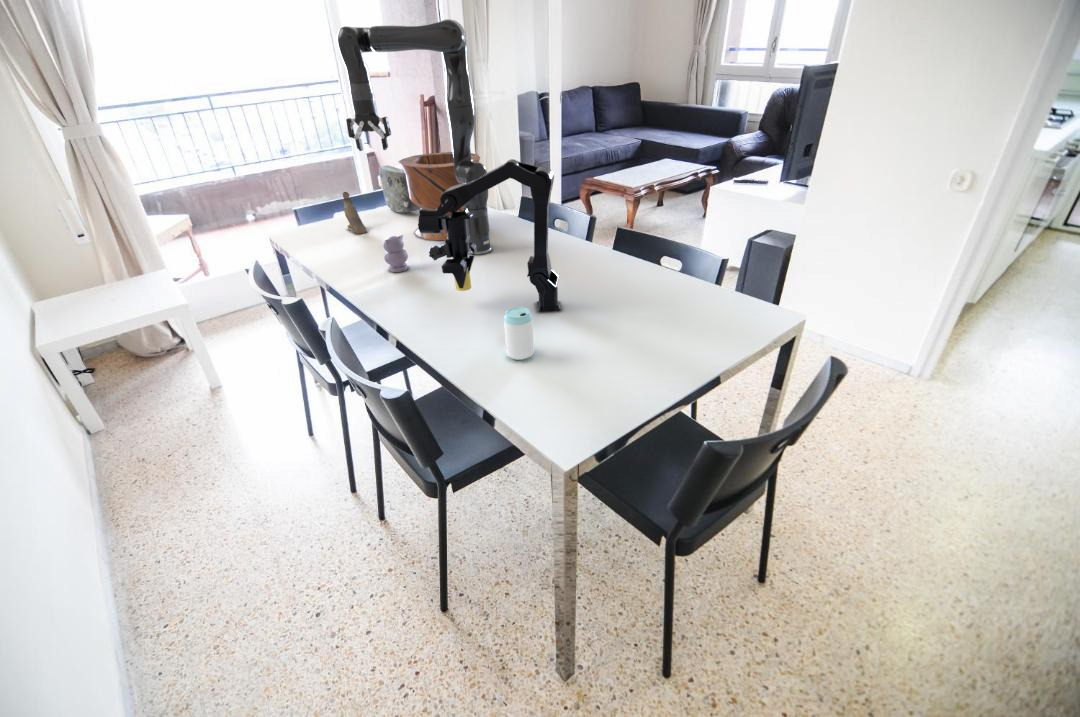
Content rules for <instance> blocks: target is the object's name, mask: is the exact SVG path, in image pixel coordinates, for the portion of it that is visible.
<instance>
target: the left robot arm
mask: <svg viewBox="0 0 1080 717" xmlns="http://www.w3.org/2000/svg"><path fill="white" fill-rule="evenodd" d="M466 35H467V34H466V31H465V29H464V28H463V26H462V24H461V23H460V22H458V21H457V20H455V19H448V18H447V19H442V20H440V21H437V22H434V23H430V24H423V25H413V26H412V25H411V26H410V25H374V26H370V27H359V26H358V27H357V26H356V27H355V26H354V27H353V26H345V25H344V26H342V27H340V28H339V29H338V31H337V34H336V43H337V47H338V51H339V53H340V57H341V59H342V62H343V64H344V67H345V71H346V75H347V76H346V77H347V80H348V81H347V82H348V86H349V94H350V95H349V96H350V99H351V100H350V101H351V104H352V109H353V110H352V111H353V114H354V118H353V117H352V118H351V117H348V118H346V119H345V121H346V128H347V135H348V137H349V138H351V139H354V140H355V144H356V149H357V150H358V151H359V152H363V151H364V147H363V141H362V138H361V136H362V134H363V133H364V132H365V133H367V132H375V133H376V134H378V136H379V137H380V138H381V139H380V140H381V145H382V150H383V151H387V149H388V148H389V143H388V137H390V136H392V130H391V125H390V122H389V118H388V116H383V117H380V116H379V114H378V109H377V103H376V98H375V93H374V88H373V85H372V80H371V76H370V70H369V67H368V64H367V63H366V62H365V61H364V56H363V54H364V53H373V52H376V53H397V52H406V51H421V50H422V51H433V52H439V53H442V58H443V63H444V69H445V105H446V112H447V119H448V123H449V131H450V138H451V139H450V140H451V145H452V152H453V161H454V174H455V178H456V180H457V182H458V183H459V184H462V183H467V182H470V181H473V180H475V179H476V178H478V177H480V176H482V175H484V174H486V173H488V171H487V168H486V166H485V165H484V164H483V163H481V162H480V161H479V162H474V161H472V157H471V153H472V151H471V141H472V136H473V133H474V130H475V125H476V112H475V104H474V98H473V92H472V87H471V82H470V76H469V69H468V60H467V59H468V58H467V57H468V56H467V36H466ZM380 123H381V125H383V128H384V130H383V129H382V127H381V126H380V125H379V124H380ZM355 124H356V125H357V129H356V131H355V130H354V125H355ZM488 200H489V189H488V190H486V191H484V192H482V193H480V194H478V195H476V196H475V197H473V198H472V199H471V200H470V201H468V202H467V203H466V204H465V205H464V206H462V207H463V211H464V210H465V209H467V210H468V211H469V212H471V213H472V214H473V216H472V217H471V218H470V219H466V225H467V234H468V235H469V236H470V238H469V240H468V243H474V244H475V245H476V247H477V252H476V254H475V255H476V256H477V255H485V254H488V253H490V252H491V251H492V246H491V245H492V244H491V233H490V223H489V211H488ZM470 255H474V254H473V252H472V251H471V253H470Z"/></svg>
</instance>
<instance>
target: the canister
mask: <svg viewBox="0 0 1080 717" xmlns="http://www.w3.org/2000/svg"><path fill="white" fill-rule="evenodd" d="M453 278H454V287H455V290H457V291H458V292H464V291H469V290H471V289H472V279H471V271H470V272H469V271H467V275H466V279H465V283H464V287H463V288H459V286H458V284H457V281H456V279H455V277H454V276H453Z"/></svg>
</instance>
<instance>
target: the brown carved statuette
mask: <svg viewBox="0 0 1080 717" xmlns="http://www.w3.org/2000/svg"><path fill="white" fill-rule="evenodd" d="M342 198H343V202H342V203H343V206H344V208H343V212H344V215H345V219H347V222H348V223H349V224H348V225H347V230H349V231H351V232H352V233H354V234H357V235H361V234H365V233H367V232H368V230H367V228H366V226H365V224H364V223H363V221H362V219H361V217H360V215H359V213H358V210H357V208H356V207H355V206H354V204H353V201H352V199H350V193H349V192H347V191H343V192H342Z"/></svg>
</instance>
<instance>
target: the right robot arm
mask: <svg viewBox="0 0 1080 717" xmlns="http://www.w3.org/2000/svg"><path fill="white" fill-rule="evenodd" d="M509 179H512V180H514V181H516V182H518V183H520V184H521V185H524V186H526V187H528V188H529V189H530V195H531V199H532V203H533V206H534V207H533V208H534V209H533V216H534V217H533V256H532V255H530V256H529V258H528V261H527V264H526V265H527V271H528V272H527V274H526V277H527V278H529V282H530V284H532V285H533V286H534V287H535V289H536V292H537V293H538V301H536V306H537V310H538V313H545V312H558V311H561V306H560V302H559V290H558V289H559V287H558V282H559V279H560V277H559V275H558V274H557V273H556V272H555V271H554V270H552V262H551V258H550V255H549V213H550V211H549V210H550V201H551V195H552V191H553V186H554V180H555V175H554V172H553V170H552V169H551V168H549V167H547V166H545V165H544V166H537V165H534V164H530V163H525V162H521V161H518V160H516V159H508V160H507V161H506V162H505V163H503V164H501V165H499V166H497V167H496V168H494V169H492V170H490V171H487V173H486V174H484V175H482V176H480V177H478V178H476V179H475V180H473V181H470V182H467V183H462V184H459V185H455V186H452V187H450V188H449V189H448V190H446V191H445V192H444V193H443V194H442V195H441V199H440V201H441V204H440V206H439V208H438V209H422V208H420V210H418V211H419V212H418V214H419V215H418V220H417V221H418V223H417V228H418V229H419V231H420V233H422V234H441V233H442V232H443V230H445V229H447V237H448V238H447V239H446V240H444V241H441V242H440V243H437V244H434V245H432V246H431V247H429V250H428V253H429V254H428V257H429V258H431V259H432V260H433V261H437V260H438V259H441V258H443V257H446V258H447V259H446V260H445V261H444V262H443V264H442V265H441V271H442V274H452V275H453V278H454V277H455V279H456V281H457V284H458V286H459V288H463V287H464V283H465V279H466V275H467V271H469V272H470V273H471V269H472V266H473V263H474V259H475V255H477V254H476V252H477V247H476V245H475V244H474V243H468V240H469V238H470V236H469V235H468V234H467V225H466V219H470V218H471V217H472V216H473V214H472V213H471V212H469V211H468V210H467V209H465V210H464V211H457V210H458V209H460V208H461V207H462V206H464V205H465V204H466V203H467V202H468V201H470V200H471V199H472V198H473V197H475V196H476V195H478V194H480V193H482V192H484V191H486V190H488V191H489V190H490V189H492V188H494V187H496V186H497V185H499V184H501V183H503V182H505V181H508V180H509ZM448 212H452V214H446V213H448ZM471 251H472V252H473V254H472V255H471V254H470V253H471ZM455 279H454V280H455Z"/></svg>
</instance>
